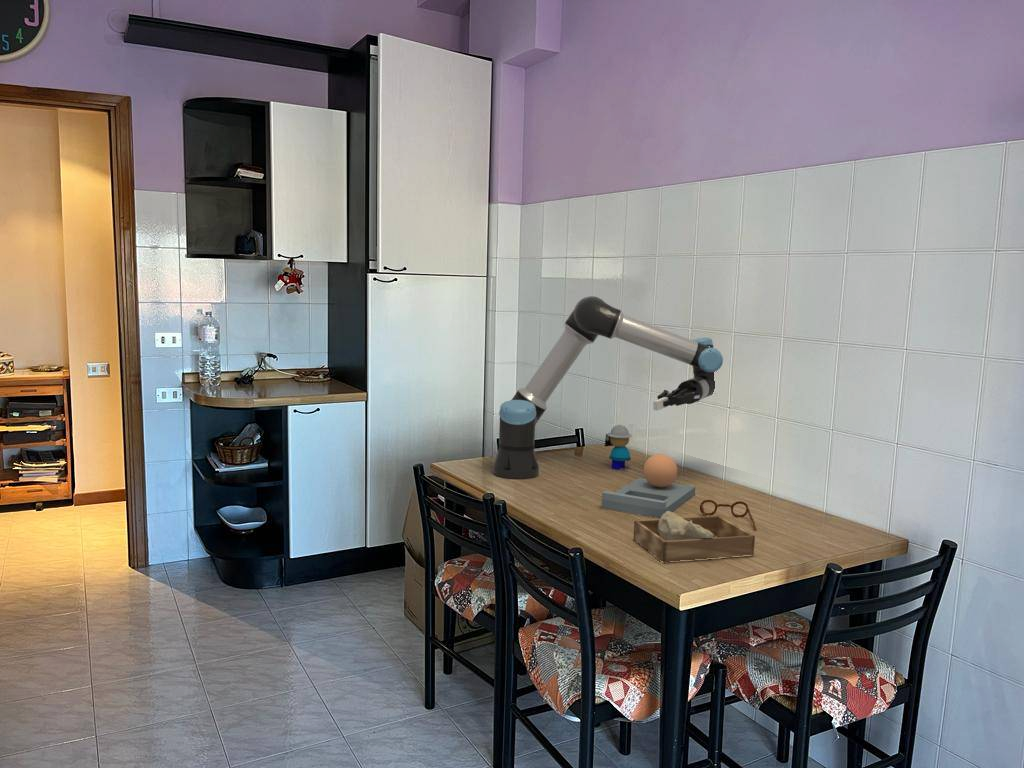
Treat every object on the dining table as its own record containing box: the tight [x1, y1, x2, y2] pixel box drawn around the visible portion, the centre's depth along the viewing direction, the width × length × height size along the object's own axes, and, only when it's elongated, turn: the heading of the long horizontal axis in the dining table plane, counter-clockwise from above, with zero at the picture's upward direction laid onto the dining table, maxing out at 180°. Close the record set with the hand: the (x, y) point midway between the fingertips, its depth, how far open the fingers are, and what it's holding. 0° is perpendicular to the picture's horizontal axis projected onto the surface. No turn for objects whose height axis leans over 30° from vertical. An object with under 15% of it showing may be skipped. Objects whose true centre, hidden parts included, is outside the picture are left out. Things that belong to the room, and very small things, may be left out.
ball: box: [643, 453, 678, 488], centre depth 238 cm, size 10×10×10 cm
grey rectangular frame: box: [601, 477, 696, 519], centre depth 232 cm, size 30×18×4 cm, turn 151°
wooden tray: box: [632, 515, 756, 562], centre depth 192 cm, size 16×23×5 cm
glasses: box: [699, 499, 758, 532], centre depth 213 cm, size 13×13×5 cm
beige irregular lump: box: [658, 511, 715, 541], centre depth 191 cm, size 15×7×15 cm
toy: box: [604, 424, 633, 471], centre depth 272 cm, size 8×9×15 cm
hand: (655, 406), depth 241 cm, fingers closed
